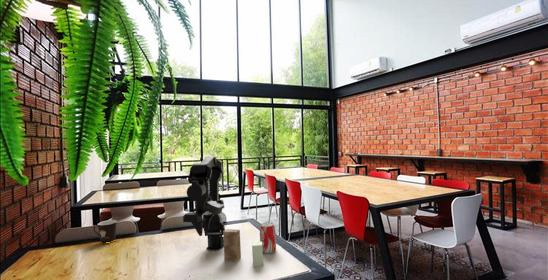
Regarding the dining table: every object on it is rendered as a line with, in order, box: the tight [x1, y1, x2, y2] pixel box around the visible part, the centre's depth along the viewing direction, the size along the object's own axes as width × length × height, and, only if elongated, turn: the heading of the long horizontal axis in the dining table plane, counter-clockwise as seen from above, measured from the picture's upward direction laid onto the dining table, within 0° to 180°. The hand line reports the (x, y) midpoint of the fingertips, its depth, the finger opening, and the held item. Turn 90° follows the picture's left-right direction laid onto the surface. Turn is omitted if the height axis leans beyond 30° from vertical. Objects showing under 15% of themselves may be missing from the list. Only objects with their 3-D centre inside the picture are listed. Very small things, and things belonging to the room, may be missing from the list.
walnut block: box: [222, 228, 242, 262], centre depth 119 cm, size 6×4×12 cm, turn 73°
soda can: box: [259, 222, 277, 254], centre depth 126 cm, size 7×7×12 cm
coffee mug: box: [92, 220, 118, 243], centre depth 150 cm, size 12×9×10 cm
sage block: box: [251, 241, 264, 267], centre depth 114 cm, size 4×4×8 cm
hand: (203, 234), depth 113 cm, fingers open, 4 cm apart
